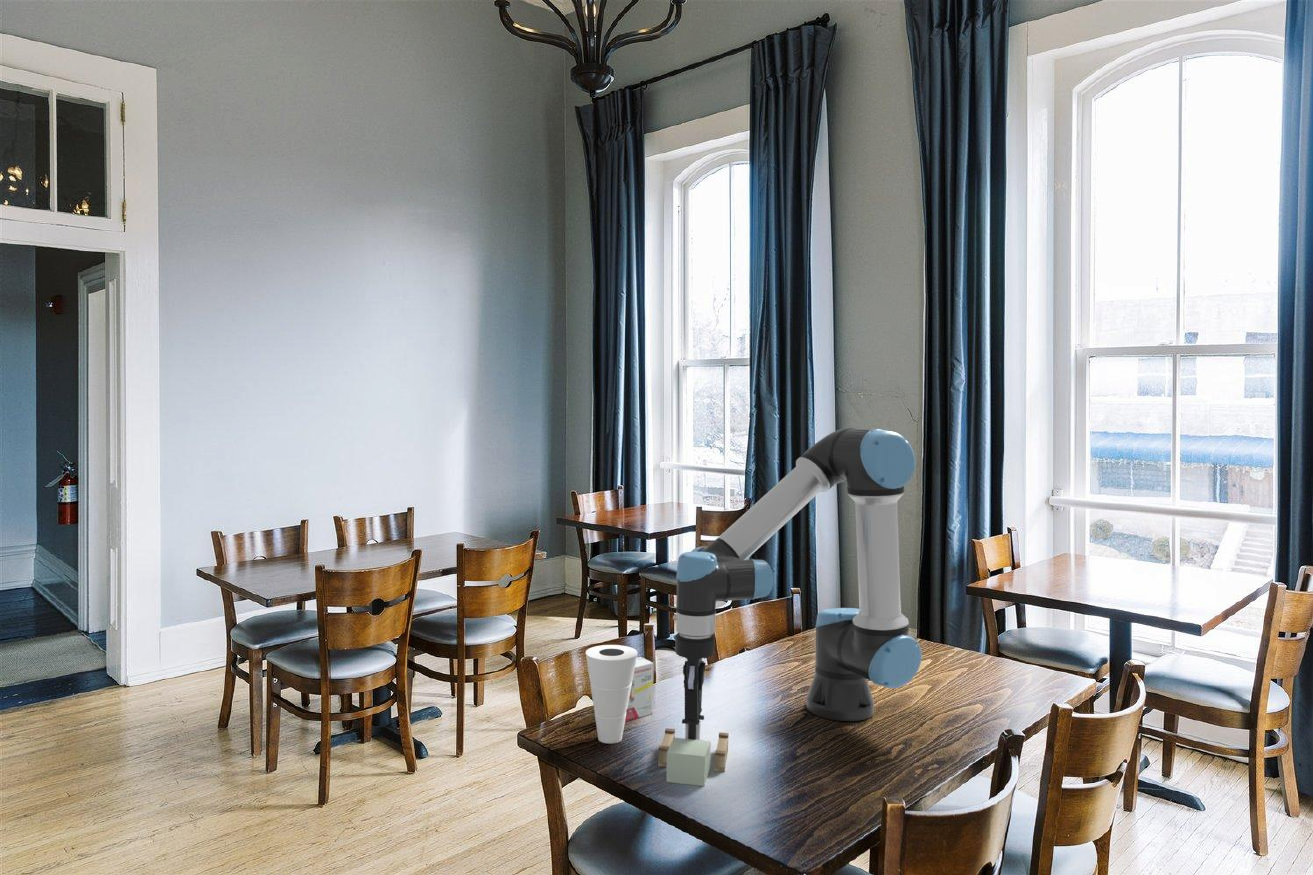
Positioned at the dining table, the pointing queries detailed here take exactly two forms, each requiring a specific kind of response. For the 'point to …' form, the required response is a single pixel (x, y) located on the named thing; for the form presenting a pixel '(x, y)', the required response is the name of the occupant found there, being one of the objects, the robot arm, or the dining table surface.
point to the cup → (610, 687)
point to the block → (688, 761)
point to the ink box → (641, 690)
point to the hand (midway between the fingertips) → (692, 754)
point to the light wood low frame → (719, 753)
